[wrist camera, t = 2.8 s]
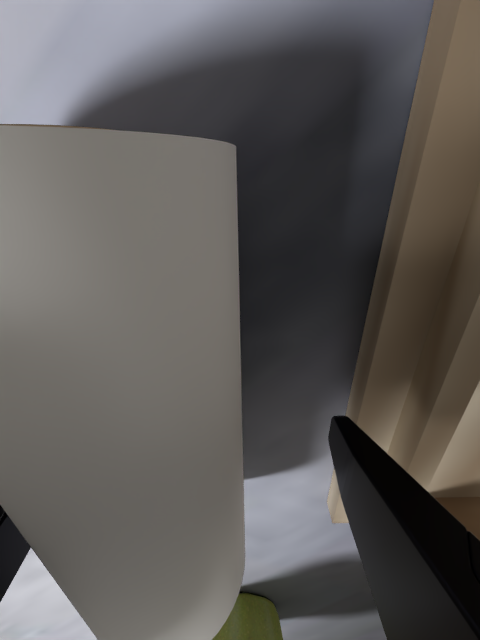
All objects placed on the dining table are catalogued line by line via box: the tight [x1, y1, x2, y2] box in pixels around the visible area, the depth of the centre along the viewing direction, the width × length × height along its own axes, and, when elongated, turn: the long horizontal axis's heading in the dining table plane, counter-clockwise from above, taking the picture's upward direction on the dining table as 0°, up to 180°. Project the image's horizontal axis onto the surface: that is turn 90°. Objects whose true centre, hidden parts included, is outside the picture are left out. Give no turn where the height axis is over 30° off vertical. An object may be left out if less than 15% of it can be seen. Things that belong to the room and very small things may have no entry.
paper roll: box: [0, 124, 245, 640], centre depth 8 cm, size 14×6×6 cm, turn 1°
